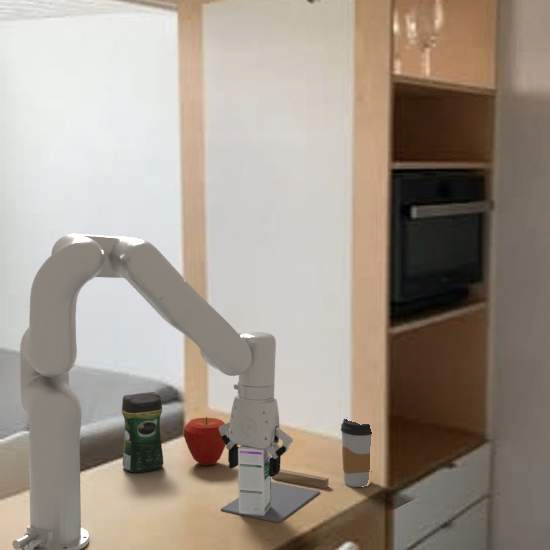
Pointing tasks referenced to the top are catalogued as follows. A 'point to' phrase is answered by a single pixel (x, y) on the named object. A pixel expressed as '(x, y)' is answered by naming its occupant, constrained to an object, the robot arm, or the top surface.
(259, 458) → the syrup box
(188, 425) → the apple
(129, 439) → the coffee jar
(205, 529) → the top surface
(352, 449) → the coffee cup
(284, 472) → the strip
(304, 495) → the mat
